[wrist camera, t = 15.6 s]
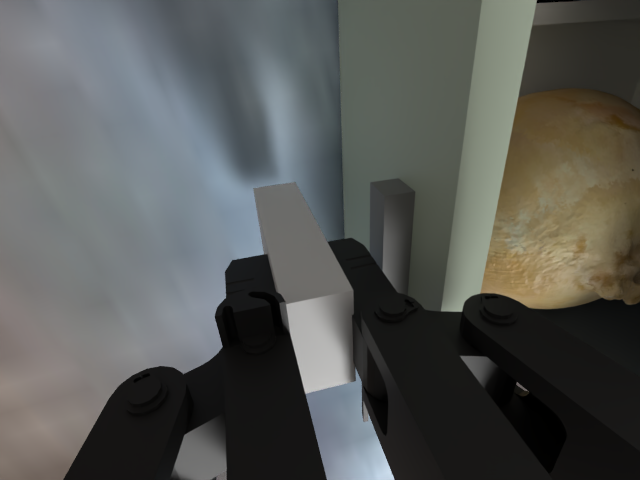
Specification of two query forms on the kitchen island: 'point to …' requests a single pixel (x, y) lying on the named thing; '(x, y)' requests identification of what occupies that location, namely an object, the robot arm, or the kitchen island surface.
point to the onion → (568, 202)
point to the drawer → (456, 119)
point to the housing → (603, 328)
